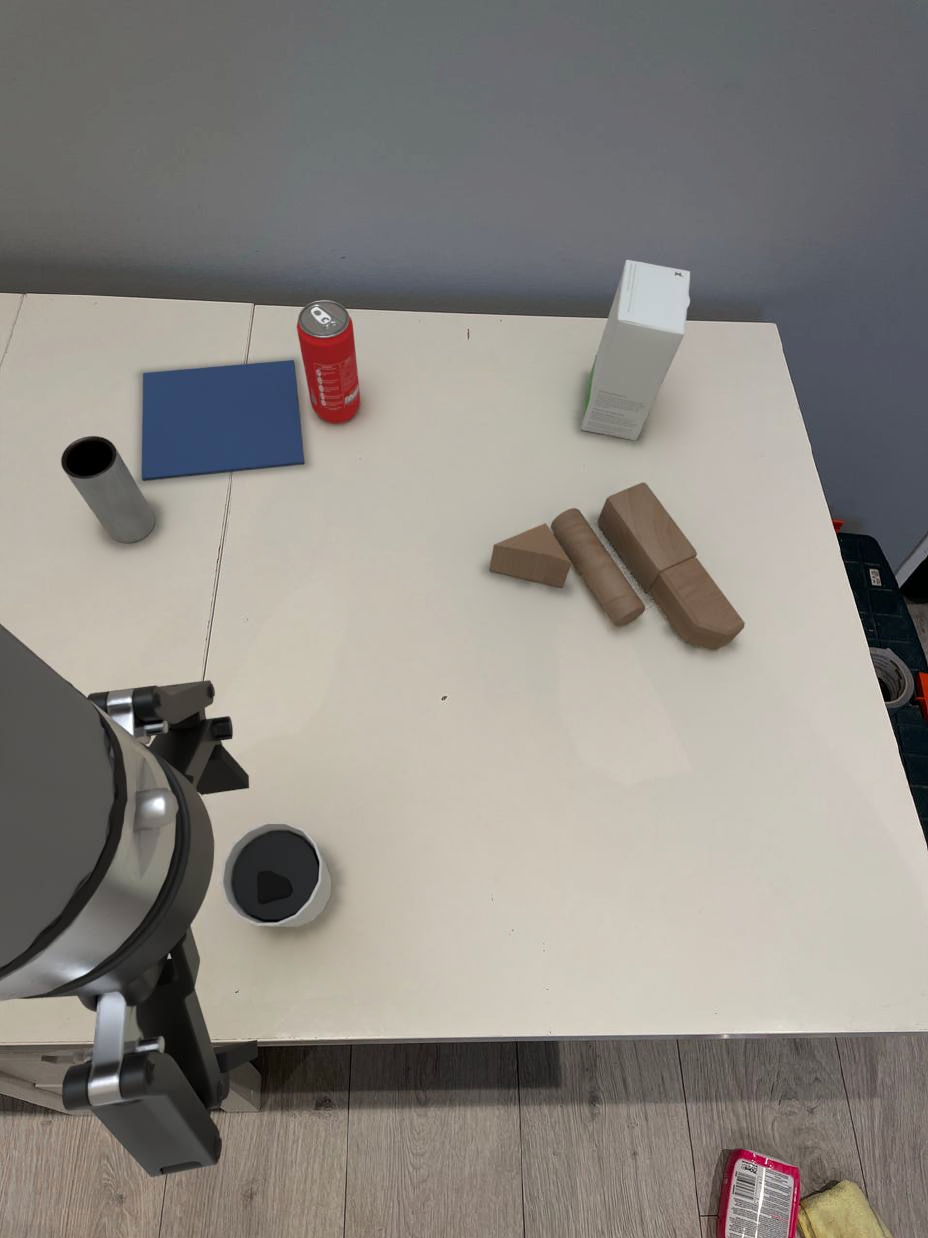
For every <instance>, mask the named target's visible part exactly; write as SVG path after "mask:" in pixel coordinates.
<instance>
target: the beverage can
mask: <svg viewBox="0 0 928 1238" xmlns="http://www.w3.org/2000/svg"><path fill="white" fill-rule="evenodd" d="M296 331H297V332H296V333H297V335H298V336H297V337H298V343H299V348H300V352H301V359H302V362H303V369H304V375H305V379H306V385H307V390H308V396H309V400H310V405H311V408H312V409H313V411H314V412H315V413H316V414H317V416H318V417H319V418H320V419H321V420H322V421H324V422H326V423H329V424H334V425H337V424H344V423H347V422H349V421H350V420H352V419H353V418H354V417H355V416H356V414H357V412H358V409H359V407H360V406H361V392H360V382H359V371H358V364H357V354H356V353H357V351H356V341H355V334H354V323H353V319H352V318H351V316H350V314H349V311H348V310H347V309H346V308H345V307H344V306H343V305H342V304H340V303H338V302H336V301H333V300H325V299H324V300H323V299H322V300H316V301H312V302H310V303H308V304H306V305H305V306H304V307H303V308H302V309H301V310H300V312H299V314H298V317H297V322H296Z"/></svg>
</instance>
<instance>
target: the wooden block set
mask: <svg viewBox="0 0 928 1238" xmlns="http://www.w3.org/2000/svg"><path fill="white" fill-rule="evenodd" d="M597 525H598V526H599V527H600V529H601V530H602V532H603V533H604V535H605V536H606V538H607V539H608V540H609V542H610V543H611V545H612V546H613V548H614V549H615V551H616V552H617V554H618V555H619V556H620V558H621V559H622V561H623V562H624V564H625V566H626V567H627V568H628V570H629V571H630V572H631V574H632V575H633V577H634V578H635V580H636V582H638V584H639V586H640V587H641V588H642V590H643V591H644V592H645V593H649V594H650V596H651V597H652V599H653V600H654V602H655V603H656V605H657V607H659V609H660V611H661V612H662V613H663V615H664V616H665V617H666V619H667V620H668V622H669V623H670V625H671V626H672V628H673V629H674V631H675V632H676V634H677V635H678V636H679V638H680V639H681V640H683V641H684V642H685V643H688V644H690V645H691V644H692V645H695V646H698V647H700V648H704V649H708V650H711V651H714V650H715V651H717V650H719V649H721V648H723V647H725V646H727V645H728V644H730V643H731V642H732V641H733V640H734V639H735V638H736V637H737V636H738V635H739V634H740V633H741V632H742V631H743V629H744V628H745V625H746V624H745V623H746V622H745V621H744V619H743V618H742V617H741V615H740V614H739V613H738V612H737V610H736V608H734V606H733V605H732V603H731V602H730V601H729V599H728V598H727V596H726V595H725V594H724V592H723V591H722V590H721V589H720V587H719V586H718V585H717V583H716V582H715V580H714V579H713V578H712V577H711V575H710V573H709V572H708V571H707V570H706V568H705V566H703V563H701V562H700V559H698V557H697V556H698V553H697V550H696V548H695V547H694V546H693V544H692V543H691V541H689V539H688V538H687V536H686V535H685V534H684V532H683V531H682V530H681V528H680V527H679V525H678V524H677V523H676V521H675V520H674V519H673V517H672V516H671V515H670V513H669V512H668V511H667V509H666V508H665V507H664V505H663V504H662V503H661V501H660V500H659V498H658V497H657V496H656V494H655V492H653V490H652V489H651V488H650V486H649V485H648V484H647V483H646V482H640V483H638V484H635V485H633V486H631V487H628V488H625V489H623V490H621V491H618V492H616V493H614V494H611V495H609V496H607V498H606V499H605V501H604V503H603V506H602V509H601V511H600V514H599V515H598V518H597ZM572 565H574V566H575V567H576V569H577V570H578V572H579V574H580V575H581V577H582V578H583V580H584V581H585V583H586V584H587V586H588V587H589V589H590V590H591V592H592V593H593V595H594V597H595V598H596V599H597V601H598V602H599V604H600V605H601V607H602V609H603V610H604V612H605V614H607V616H608V618H609V619H610V621H611V622H612V623H613V625H614V627H617V628H620V627H624V626H627V625H628V624H630V623H633V621H636V620H637V619H638V618H639V617H640V616H642V614H643V613H644V612H645V611H646V605H645V604H644V602H643V601H642V600H641V598H640V597H639V595H638V594H637V592H636V591H635V589H634V588H633V586H632V585H631V584H630V582H629V580H628V579H627V578H626V576H625V575H624V573H623V572H622V570H621V569H620V567H619V566H618V564H617V563H616V561H615V560H614V558H613V557H612V556H611V554H610V553H609V551H608V549H607V548H606V546H605V545H604V544H603V542H602V541H601V540H600V537H598V535H597V534H596V532H595V531H594V529H593V528H592V527H591V525H590V523H589V522H588V520H587V519H586V517H585V516H584V514H583V513H582V511H581V510H580V509H578V508H575V507H573V508H568V509H566V510H565V511H562V512H561V513H559V514H558V515H557V516H555V518H554V519H553V520H552V522H551V524H550V527H549V526H548V524H547V523H546V522H545V523H543V524H540V525H537V526H535V527H533V528H530V529H528V530H525V531H523V532H521V533H519V534H516V535H513V536H511V537H509V538H506V539H503V540H502V541H499V542H497V543H495V544H493V547H492V552H491V558H490V564H489V567H488V571H490V572H494V573H497V574H502V575H506V576H511V577H515V578H519V579H522V580H527V581H532V582H536V583H540V584H543V585H544V584H545V585H548V586H553V587H557V588H560V589H563V587H564V585H565V583H566V580H567V577H568V575H569V571H570V569H571V566H572Z"/></svg>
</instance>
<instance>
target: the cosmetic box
mask: <svg viewBox="0 0 928 1238" xmlns="http://www.w3.org/2000/svg"><path fill="white" fill-rule="evenodd" d="M622 269H623V270H622V272H621V276H620V279H619V282H618V286H617V288H616V290H615V291H616V292H615V295H614V297H613V300H612V304H611V308H610V311H609V314H608V316H607V319H606V323H605V326H604V329H603V333H602V336H601V339H600V343H599V346H598V348H597V351H596V355H595V357H594V361H593V364H592V367H591V370H590V373H589V377H588V384H587V389H586V396H585V401H584V408H583V415H582V420H581V425H580V426H581V427H580V429H581V431H583V432H589V433H595V434H600V435H606V436H609V437H616V438H621V439H624V440H625V439H626V440H631V441H638V438H639V436H640V433H641V431H642V429H643V426H644V425H645V423H646V422H645V421H646V419H647V418H648V415H649V413H650V411H651V409H652V407H653V404H654V402H655V400H656V399H657V396H658V393H659V391H660V389H661V387H662V385H663V383H664V380H665V378H666V376H667V374H668V372H669V370H670V367H671V366H672V363H673V361H674V359H675V356H676V354H677V352H678V350H679V348H680V345H681V343H682V341H683V339H684V337H685V334H686V325H687V324H686V323H687V315H688V308H689V307H690V304H691V297H690V295H689V294H690V284H691V271H690V270H685V269H680V268H674V267H669V266H663V265H659V264H652V263H648V262H644V261H637V260H633V259H632V260H631V259H626V260H625V263H624V266H623V268H622Z"/></svg>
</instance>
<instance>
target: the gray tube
mask: <svg viewBox="0 0 928 1238" xmlns="http://www.w3.org/2000/svg"><path fill="white" fill-rule="evenodd" d="M60 464H61V468H62V470H63V471H64V473H65V474H66V476H67V477H68V479H69V480H70V482H71V483H72V484H73V486H74V487H75V489H76V490H77V492H78V493H79V494H80V496H81V498H82V499H83V500H84V501H85V503H86V505H87V506H88V507H89V508H90V510H91V511H92V513H93V514H94V515H95V517H96V518H97V520H98V521H99V523H100V524H101V526H102V527H103V528H104V530H105V531H106V533H107V534H108V535H109V536H110V538H112V539H113V540H115V541H117V542H119V543H122V544H123V543H124V544H130V543H131V544H132V543H136V542H139V541H141V540H143V539H145V538H146V537H148V535H149V534H150V533H151V532H152V531H153V529H154V527H155V523H156V518H155V517H156V516H155V514H154V512H153V510H152V508H151V506H150V504H149V503H148V500H147V499H146V498H145V496H144V494H143V492H142V491H141V489H140V487H139V485H138V484H137V482H136V480H135V479H134V477H133V475H132V473H131V472H130V470H129V468H128V466H127V465H126V463H125V461H124V459H123V458H122V456H121V454H120V452H119V451H118V449H117V447H116V445H114V442H112V441H111V440H109V439H107V438H105V437H102V436H97V435H90V436H89V435H88V436H83V437H81V438H77V439H76V440H74V441H72V442H71V443H70V444H69V445H68V446H67V447H66V448H65V449H64V451H63V452H62V454H61V457H60Z"/></svg>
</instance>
